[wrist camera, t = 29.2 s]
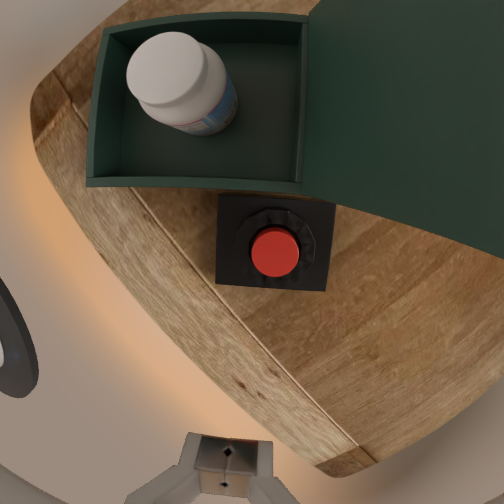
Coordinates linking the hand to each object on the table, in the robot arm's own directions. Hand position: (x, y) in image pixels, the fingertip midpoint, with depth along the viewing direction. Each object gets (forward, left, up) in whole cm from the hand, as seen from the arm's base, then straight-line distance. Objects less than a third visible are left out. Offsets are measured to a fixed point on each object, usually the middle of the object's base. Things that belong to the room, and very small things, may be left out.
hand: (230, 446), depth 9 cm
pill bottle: (-5, +15, -20) cm, 26 cm away
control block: (+2, +3, -20) cm, 21 cm away
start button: (+2, +3, -17) cm, 17 cm away
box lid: (+5, +15, -5) cm, 17 cm away
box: (-5, +15, -20) cm, 26 cm away
